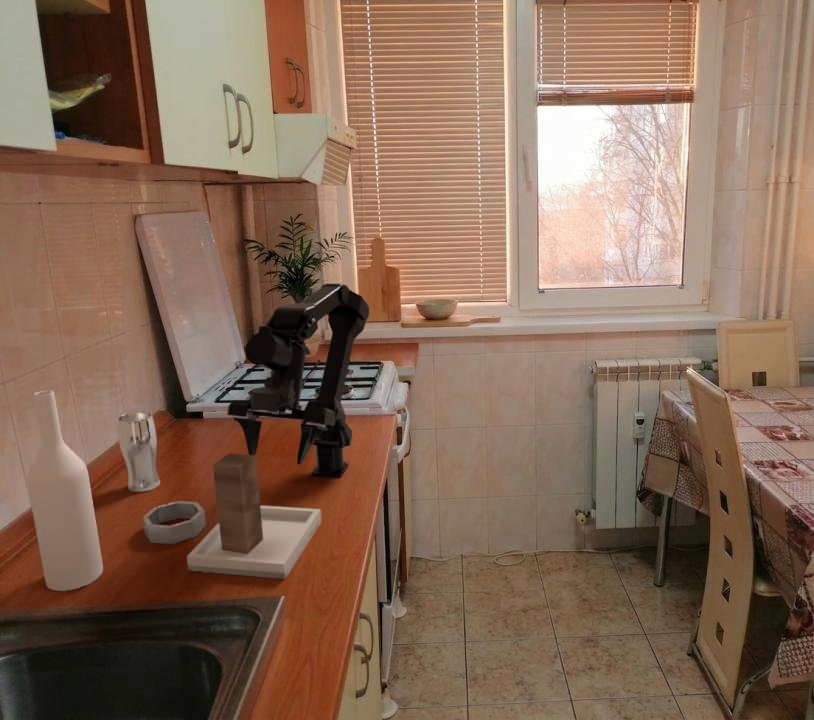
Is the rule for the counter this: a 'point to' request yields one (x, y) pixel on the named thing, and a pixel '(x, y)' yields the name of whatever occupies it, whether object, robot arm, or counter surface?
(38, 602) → the counter surface
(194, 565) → the tray
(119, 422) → the beer glass
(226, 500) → the walnut block
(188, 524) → the grey octagonal ring
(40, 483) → the bottle
